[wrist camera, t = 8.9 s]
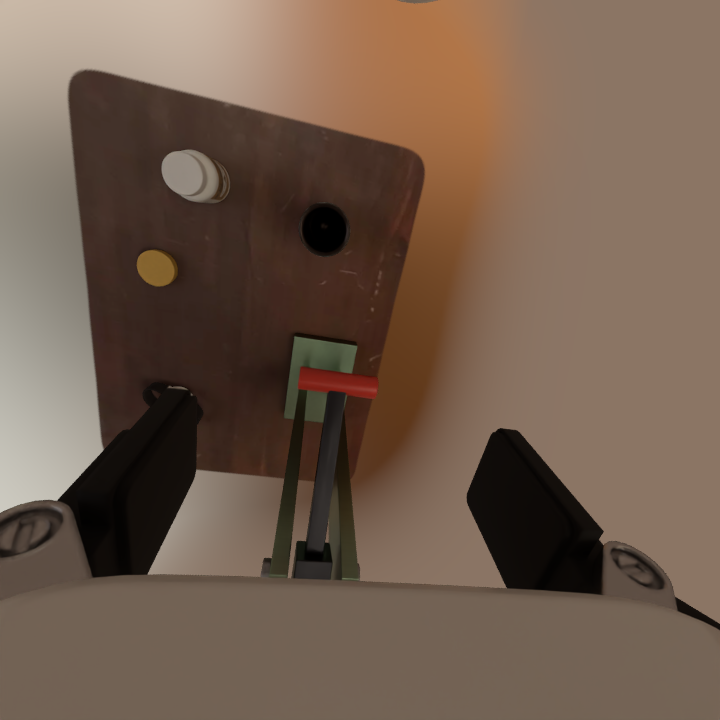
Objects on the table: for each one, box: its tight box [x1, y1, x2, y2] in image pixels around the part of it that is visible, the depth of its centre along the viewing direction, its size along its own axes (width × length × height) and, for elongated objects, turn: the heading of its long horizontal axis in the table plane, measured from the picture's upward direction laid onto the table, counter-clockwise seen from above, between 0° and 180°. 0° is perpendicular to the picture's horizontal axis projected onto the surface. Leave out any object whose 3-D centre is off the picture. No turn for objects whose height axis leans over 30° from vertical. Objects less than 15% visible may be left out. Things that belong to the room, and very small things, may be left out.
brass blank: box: [137, 249, 178, 286], centre depth 40 cm, size 4×4×1 cm
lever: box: [291, 367, 378, 580], centre depth 22 cm, size 14×5×2 cm, turn 169°
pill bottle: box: [162, 150, 230, 203], centre depth 34 cm, size 4×4×8 cm
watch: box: [143, 382, 203, 424], centre depth 45 cm, size 8×5×4 cm, turn 48°
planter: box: [299, 202, 350, 257], centre depth 35 cm, size 4×4×10 cm
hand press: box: [261, 333, 360, 581], centre depth 34 cm, size 12×8×30 cm, turn 169°
